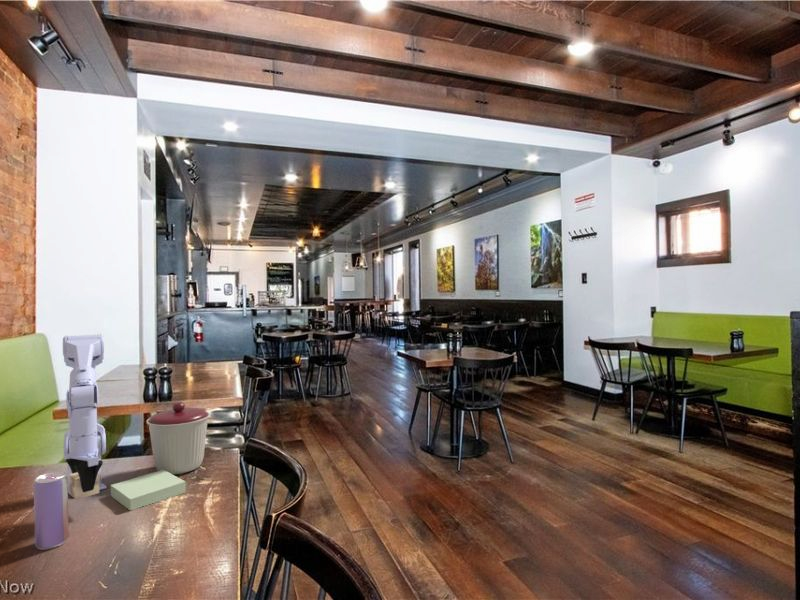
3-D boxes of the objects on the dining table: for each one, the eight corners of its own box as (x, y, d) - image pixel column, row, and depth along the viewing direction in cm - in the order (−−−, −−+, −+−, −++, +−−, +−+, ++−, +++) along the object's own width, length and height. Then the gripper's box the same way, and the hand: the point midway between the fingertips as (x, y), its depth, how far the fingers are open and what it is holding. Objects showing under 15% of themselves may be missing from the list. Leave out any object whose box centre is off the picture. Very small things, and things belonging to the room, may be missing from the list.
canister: (135, 481, 135) (134, 410, 134) (162, 459, 153) (161, 396, 152) (199, 479, 136) (197, 408, 136) (218, 457, 154) (217, 395, 154)
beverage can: (50, 552, 98) (49, 482, 97) (27, 549, 99) (26, 480, 99) (75, 537, 103) (74, 472, 103) (53, 535, 105) (52, 470, 104)
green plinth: (110, 495, 125) (110, 485, 125) (163, 479, 136) (163, 469, 136) (130, 510, 116) (130, 499, 116) (185, 492, 127) (185, 481, 127)
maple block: (69, 494, 114) (69, 474, 114) (92, 487, 118) (92, 468, 118) (75, 499, 111) (75, 479, 111) (99, 492, 115) (99, 473, 115)
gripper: (55, 432, 116) (56, 485, 116) (73, 443, 106) (74, 501, 107) (88, 425, 121) (89, 476, 121) (107, 436, 112) (108, 491, 112)
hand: (84, 487), depth 114 cm, fingers closed on maple block, 5 cm apart
